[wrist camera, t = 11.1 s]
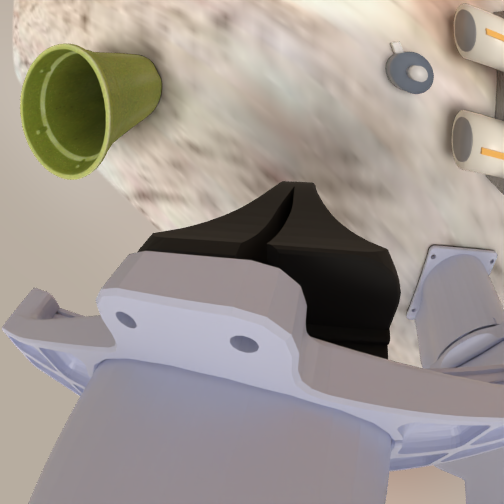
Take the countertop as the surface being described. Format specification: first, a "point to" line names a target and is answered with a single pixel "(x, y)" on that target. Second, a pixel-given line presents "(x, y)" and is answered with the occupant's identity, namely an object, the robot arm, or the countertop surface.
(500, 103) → the panel
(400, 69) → the potentiometer
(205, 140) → the countertop surface
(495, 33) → the knob
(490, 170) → the knob
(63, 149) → the plant pot
